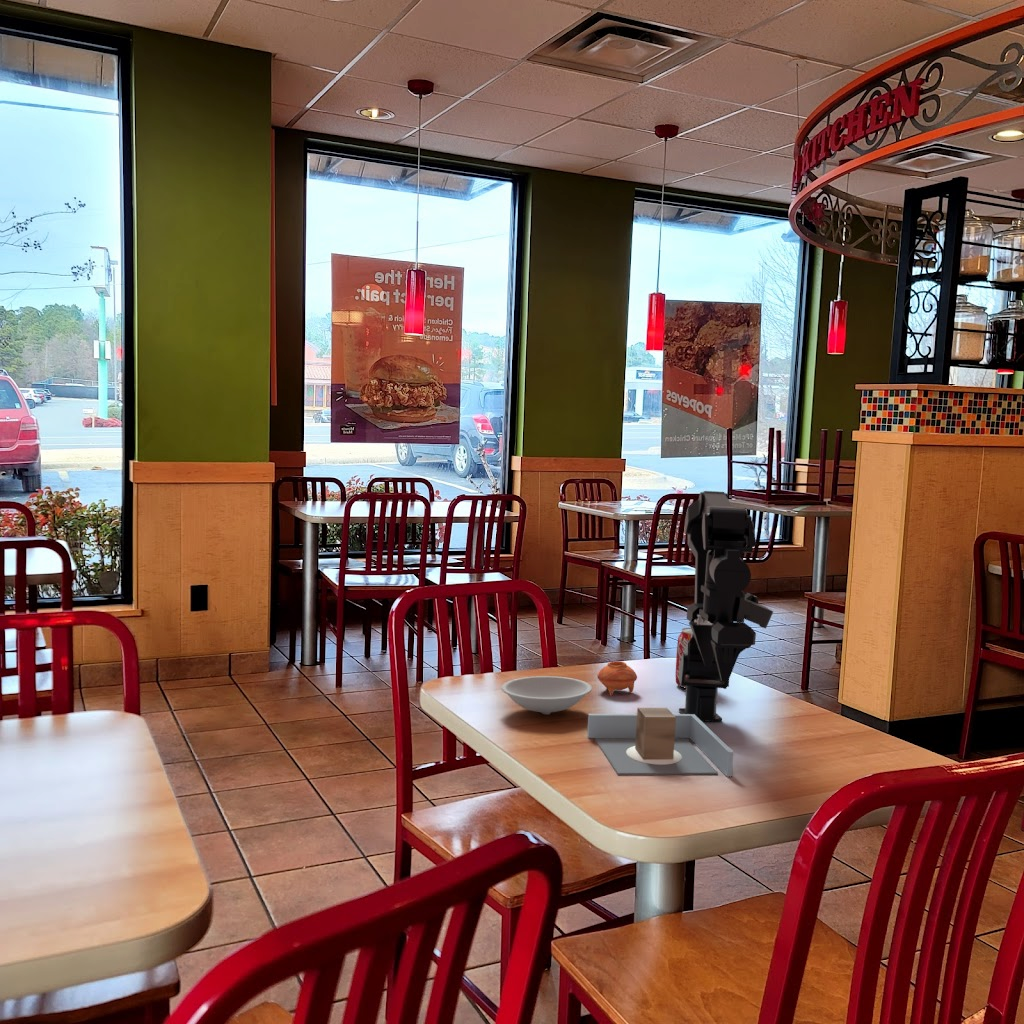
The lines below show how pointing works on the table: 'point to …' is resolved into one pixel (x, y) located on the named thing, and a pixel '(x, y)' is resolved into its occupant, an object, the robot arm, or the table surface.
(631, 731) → the low wall
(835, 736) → the table surface
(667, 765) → the mat
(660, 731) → the walnut block
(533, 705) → the dish
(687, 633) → the soda can
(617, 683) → the pot
